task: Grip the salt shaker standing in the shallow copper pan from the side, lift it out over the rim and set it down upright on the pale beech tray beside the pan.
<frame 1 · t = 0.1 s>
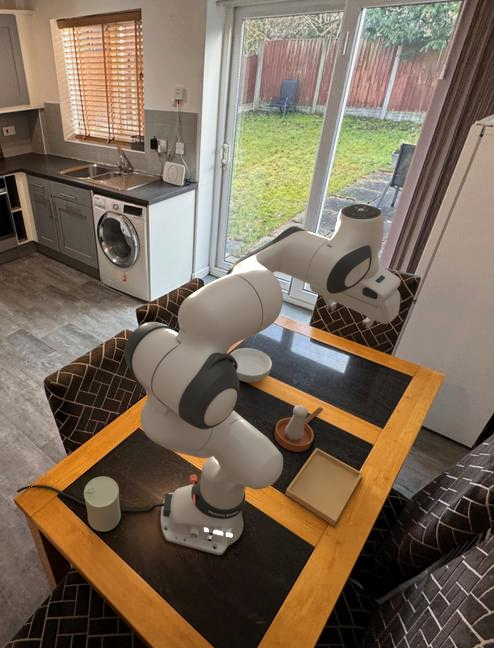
hand: (348, 316, 98), 52 cm above the table, tool tilted 20°, fingers open, 8 cm apart
salt shaker: (292, 437, 134), resting on pan
cereal bowl: (247, 374, 160), on the table
pan: (292, 437, 134), on the table
can: (104, 516, 112), on the table
pan handle: (312, 416, 138), point 2 cm above the table
tray: (323, 486, 119), on the table
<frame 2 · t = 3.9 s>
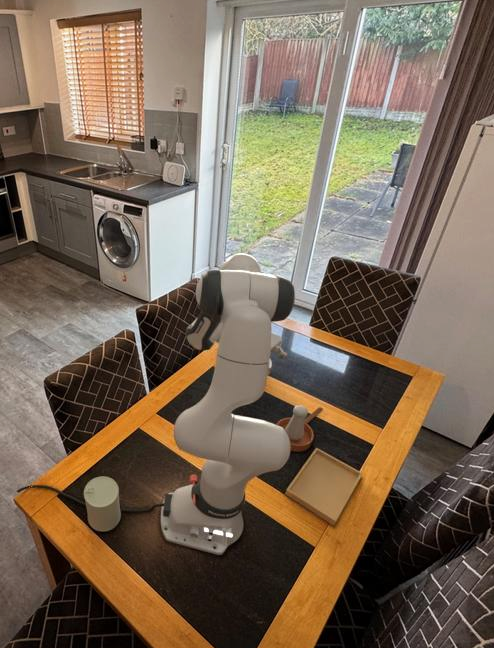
hand: (277, 363, 125), 25 cm above the table, tool horizontal, fingers open, 8 cm apart
nothing on the table moved.
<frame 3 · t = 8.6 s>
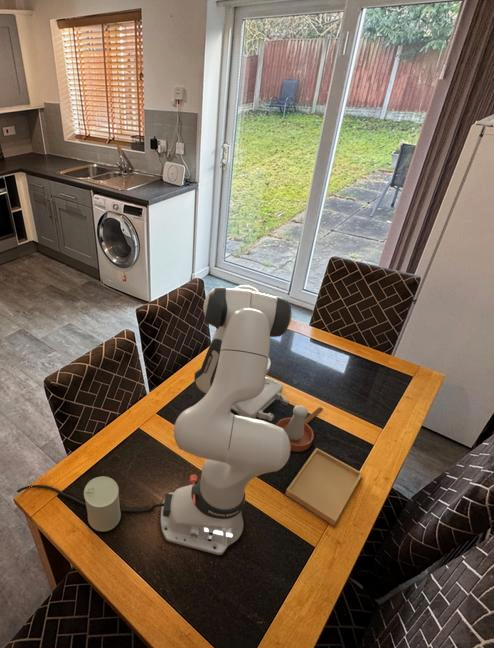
hand: (280, 411, 133), 8 cm above the table, tool horizontal, fingers open, 8 cm apart
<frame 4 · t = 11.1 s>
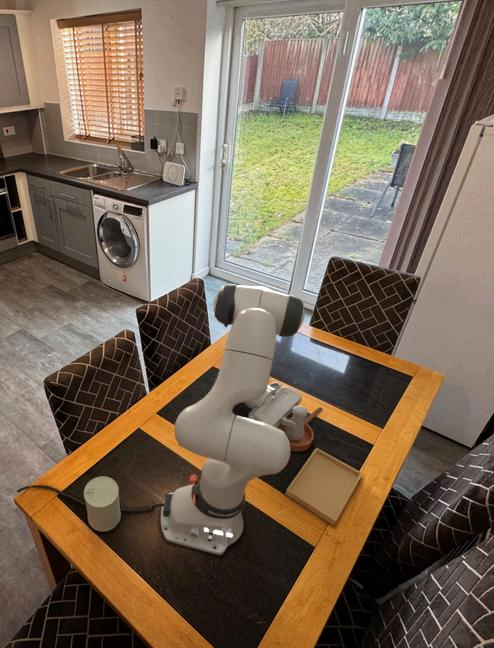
hand: (300, 422, 128), 8 cm above the table, tool horizontal, fingers closed on salt shaker, 3 cm apart
salt shaker: (292, 437, 134), resting on pan, touching gripper
everything else where it was.
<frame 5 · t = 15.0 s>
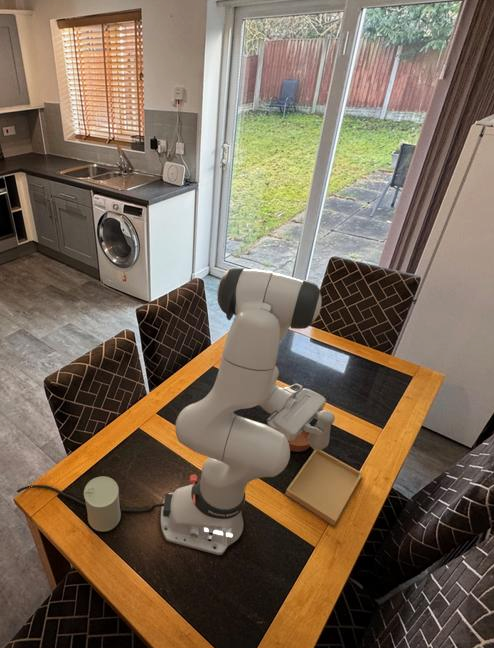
hand: (325, 428, 115), 17 cm above the table, tool horizontal, fingers closed on salt shaker, 3 cm apart
salt shaker: (316, 445, 120), point 9 cm above the table, touching gripper
everything else where it was.
when the fingers open (9 cm above the table, at t = 18.7 s): salt shaker stays where it is, resting on tray.
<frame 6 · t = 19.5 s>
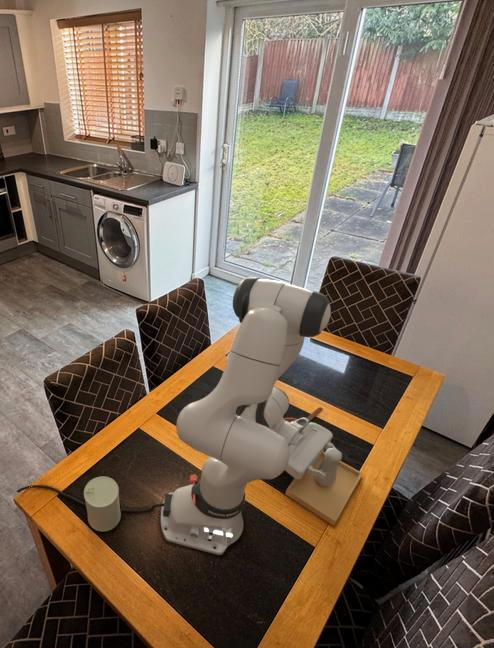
hand: (333, 466, 114), 9 cm above the table, tool horizontal, fingers open, 8 cm apart
salt shaker: (322, 481, 119), point 1 cm above the table, touching tray
everything else where it was.
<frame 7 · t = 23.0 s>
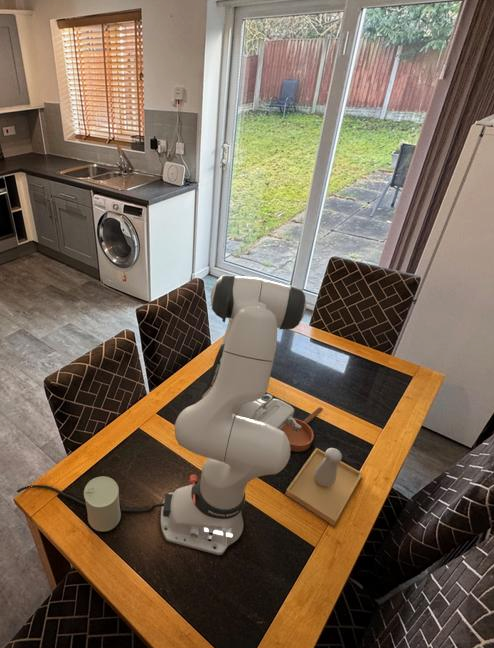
hand: (292, 438, 121), 10 cm above the table, tool horizontal, fingers open, 8 cm apart
nothing on the table moved.
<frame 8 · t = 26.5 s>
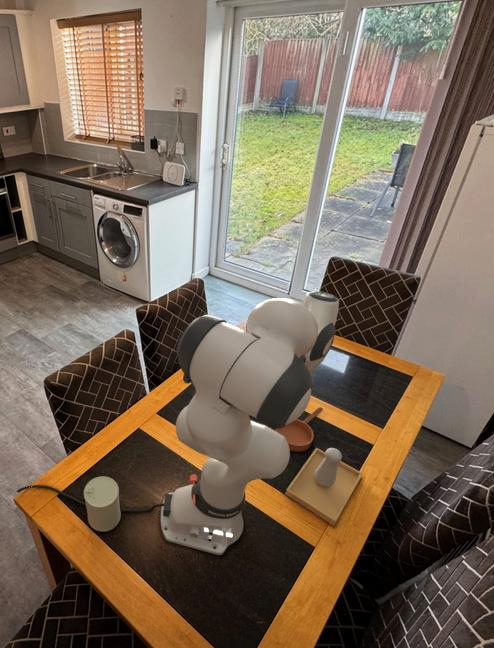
hand: (297, 386, 114), 27 cm above the table, tool pointing down, fingers open, 8 cm apart
nothing on the table moved.
at the end: salt shaker inside the target area in the tray (1.1 cm from its centre), point 0.6 cm above the tray's base; salt shaker tilted 0°; salt shaker touching tray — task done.
